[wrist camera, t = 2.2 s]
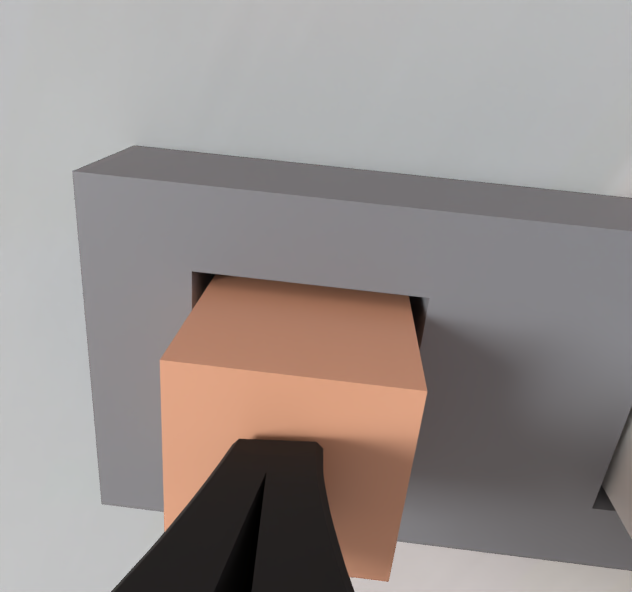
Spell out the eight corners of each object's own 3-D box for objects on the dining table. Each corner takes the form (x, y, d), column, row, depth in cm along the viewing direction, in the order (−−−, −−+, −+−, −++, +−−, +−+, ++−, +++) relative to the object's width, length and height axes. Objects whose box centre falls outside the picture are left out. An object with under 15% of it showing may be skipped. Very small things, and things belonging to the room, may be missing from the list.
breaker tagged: (408, 296, 11) (427, 391, 8) (381, 451, 13) (388, 582, 10) (215, 274, 12) (159, 359, 8) (212, 430, 13) (165, 553, 10)
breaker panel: (933, 230, 12) (1097, 281, 10) (775, 509, 16) (863, 606, 13) (133, 145, 13) (72, 171, 10) (145, 432, 16) (102, 510, 13)
